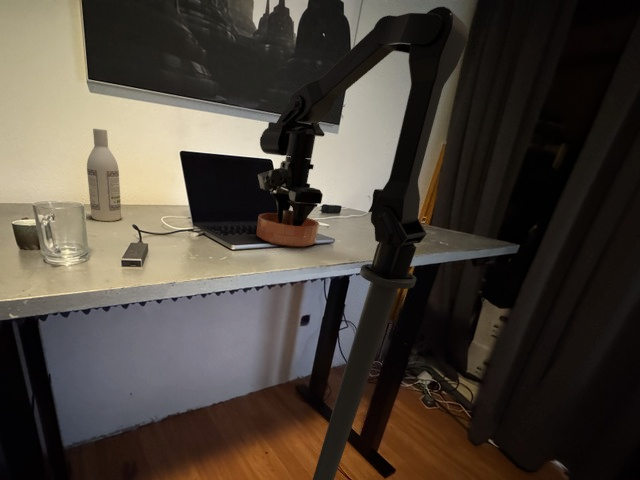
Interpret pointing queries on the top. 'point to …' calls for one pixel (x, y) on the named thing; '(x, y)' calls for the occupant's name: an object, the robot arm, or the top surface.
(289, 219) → the scrub brush
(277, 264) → the top surface
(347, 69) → the robot arm
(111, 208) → the bath foam
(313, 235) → the bowl
